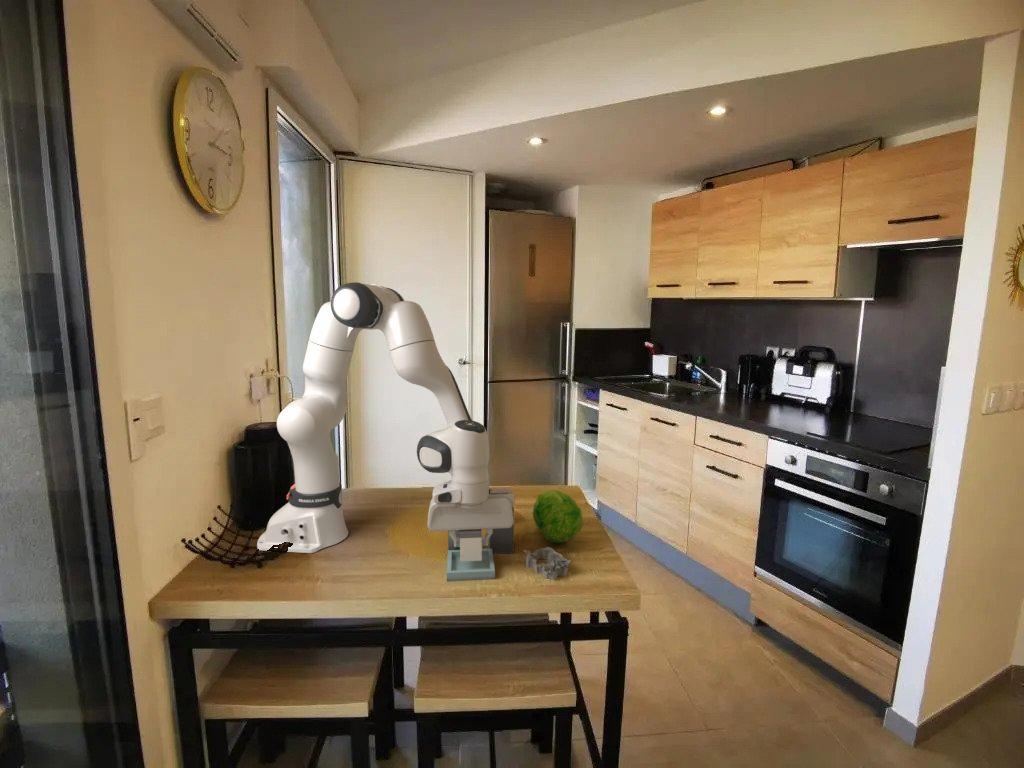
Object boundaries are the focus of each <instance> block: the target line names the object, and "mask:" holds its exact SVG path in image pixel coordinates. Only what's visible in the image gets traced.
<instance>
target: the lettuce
mask: <svg viewBox="0 0 1024 768" xmlns="http://www.w3.org/2000/svg"><path fill="white" fill-rule="evenodd" d="M532 517H533V520H534V524H535V525H536V527H537V529H538V530H539V531H540V533H541V534H542V535H543V537H544V538H545V539H546V540H548V541H550V542H552V543H558V544H560V543H565V542H567V541H569V540H571V539H572V538H574V537H575V536H576V535H577V534H579V532H581V530H582V527H583V524H584V521H583V514H582V509H581V507H580V506H579V505H578V504H577V502H576V501H575V500H574V499H573V498H572V497H571V496H570V495H569V494H567V493H565V492H563V491H560V490H555V489H549V490H545V491H543V492H541V493H540V494H539V495H538V496H537V497H536V500H535V502H534V505H533V509H532Z"/></svg>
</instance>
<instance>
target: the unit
mask: <svg viewBox="0 0 1024 768" xmlns="http://www.w3.org/2000/svg"><path fill="white" fill-rule="evenodd" d="M514 508H515V507H514V505H513V506H512V512H513V525H512V527H511V528H500V529H493V533H492V534H491V536H490V538H489V539H488V549H492V552H493V555H504V554H507V555H509V554H510V555H511V554H514V543H515V541H514V534H515V533H514V532H515V531H514V528H515V509H514Z"/></svg>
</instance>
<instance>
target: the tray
mask: <svg viewBox="0 0 1024 768" xmlns="http://www.w3.org/2000/svg"><path fill="white" fill-rule="evenodd" d="M481 580H496V569H495V562H494V554H493V552H492V549H489V548H482V561H460V550H447V563H446V582H458V581H459V582H460V581H461V582H462V581H481Z"/></svg>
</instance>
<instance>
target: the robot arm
mask: <svg viewBox="0 0 1024 768" xmlns="http://www.w3.org/2000/svg"><path fill="white" fill-rule="evenodd" d="M362 330H370V331H371V330H380V331H381V332H382V333H383V335H384V337H385V338H386V341H387V346H388V350H389V353H390V354H389V355H390V357H391V362H392V365H393V367H394V369H395V371H396V373H397V374H398V376H399V377H401V378H402V379H403V380H405V381H406V382H407V383H411V384H413V385H416V386H420V387H422V388H425V389H427V390H428V391H430V392H432V393H433V395H434V396H435V398H436V399H437V401H438V403H439V406H440V408H441V411H442V414H443V416H444V419H445V420H446V424H447V427H445V428H443V429H439V430H436V431H433V432H430V433H428V434H426V435H424V436H422V437H421V438H420V439H419V441H418V442H417V443H418V444H417V447H416V456H417V460H418V463H419V464H420V465H421V467H422V469H424V470H425V471H427V472H429V473H434V474H445V473H449V474H450V475H451V479H450V480H448V481H445V482H442V483H439V484H436V485H434V486H433V489H432V497H431V500H430V502H429V509H428V514H427V528H428V530H429V531H430V532H442V531H443V532H446V531H447V532H448V530H449V535H450V537H451V538H452V540H453V541H454V547H460V537H456V535H455V530H474V529H481V530H486V534H484V536H483V535H482V547H489V543H488V539H489V538H490V536H491V534H492V533H493V529H500V528H511V527H512V525H513V512H512V506H513V507H514V505H515V503H516V502H515V494H514V492H513V491H511V490H509V489H508V488H501V489H499V488H490V474H489V470H488V467H489V462H490V442H489V435H488V431H487V430H486V427H485V426H484V424H482V423H480V422H479V421H475V420H472V417H471V415H470V413H469V410H468V407H467V406H466V403H465V401H464V398H463V395H462V393H461V390H460V388H459V385H458V383H457V382H458V381H457V380H456V378H455V377H454V376H455V375H454V373H453V372H452V370H451V369H450V368H449V366H447V364H446V363H445V362H444V360H443V359H442V358H443V357H442V356H441V354H440V351H439V350H438V346H437V343H436V341H435V337H434V334H433V331H432V327H431V325H430V323H429V321H428V318H427V315H426V314H425V312H424V310H423V308H422V307H421V305H420V304H418V303H417V302H416V301H415V302H414V301H412V300H405V299H404V297H403V296H402V295H401V294H400V293H399V292H398V291H396V290H394V289H393V288H389V287H385V286H382V285H378V284H374V283H362V282H357V281H356V282H347V283H343V284H341V285H340V286H338V287H337V288H336V289H335V290H334V292H333V293H332V296H331V300H330V301H326V302H325V303H323V304H322V305H321V307H320V308H319V311H318V312H317V314H316V317H315V318H314V322H313V325H312V328H311V330H310V335H309V339H308V341H307V346H306V351H305V353H304V354H305V355H304V357H303V358H304V359H303V363H302V372H303V374H304V391H303V392H304V393H303V394H302V397H300V398H298V399H295V400H294V401H292V402H290V403H289V404H287V405H286V406H285V407H284V408H283V409H282V410H281V412H280V413H279V414H278V416H277V419H276V428H277V432H278V434H279V435H280V437H281V438H282V439H283V440H284V441H286V443H287V446H288V448H289V450H290V454H291V457H292V461H293V462H292V463H293V471H294V484H293V485H292V486H290V489H289V491H288V493H287V494H286V501H288V502H287V503H285V505H283V506H282V507H280V508H279V509H278V510H277V511H275V513H273V515H272V516H271V517H270V519H269V521H268V522H267V525H266V530H265V531H264V532H263V533H262V534H261V535H260V536H259V537H258V539H257V542H256V543H257V544H256V548H257V550H258V549H259V551H265V552H267V550H269V549H270V548H271V547H272V546H273V545H279V544H282V543H284V542H290V543H293V545H292V546H291V547H288V551H287V552H286V553H300V554H301V553H303V554H312V553H316V552H319V551H321V550H322V549H324V548H327V547H330V546H331V547H332V546H334V545H336V544H338V543H340V542H342V541H343V540H345V539H346V538H347V537H348V535H349V530H348V528H347V525H346V522H345V521H346V520H345V517H344V513H343V507H342V505H343V501H344V499H343V489H342V483H341V482H340V464H339V463H340V459H339V455H338V454H337V453H336V452H335V450H334V447H333V443H332V441H331V440H332V439H331V431H332V430H333V429H335V428H336V427H338V426H339V425H340V423H341V422H342V420H343V419H344V417H345V415H346V413H347V403H346V392H347V379H348V375H349V371H350V366H351V361H352V358H353V354H354V350H355V346H356V342H357V338H358V336H359V334H360V333H361V331H362ZM274 548H278V547H274Z"/></svg>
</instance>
